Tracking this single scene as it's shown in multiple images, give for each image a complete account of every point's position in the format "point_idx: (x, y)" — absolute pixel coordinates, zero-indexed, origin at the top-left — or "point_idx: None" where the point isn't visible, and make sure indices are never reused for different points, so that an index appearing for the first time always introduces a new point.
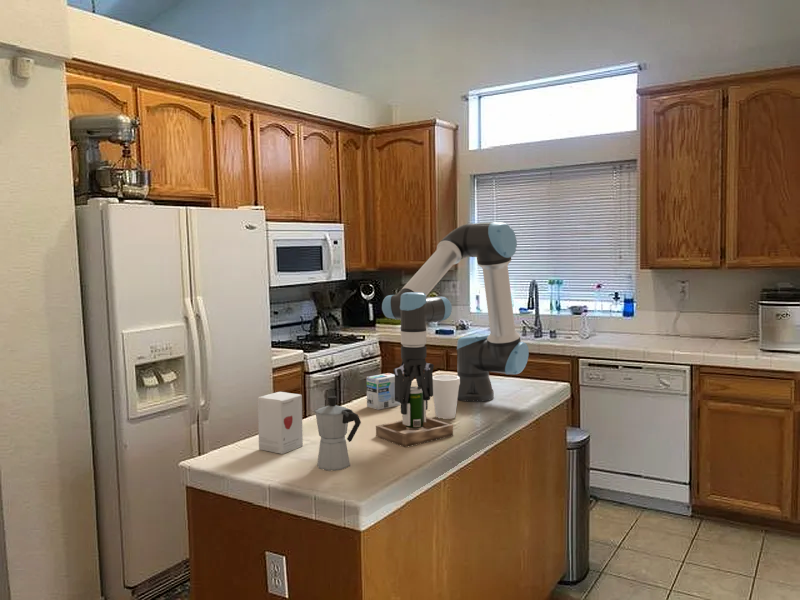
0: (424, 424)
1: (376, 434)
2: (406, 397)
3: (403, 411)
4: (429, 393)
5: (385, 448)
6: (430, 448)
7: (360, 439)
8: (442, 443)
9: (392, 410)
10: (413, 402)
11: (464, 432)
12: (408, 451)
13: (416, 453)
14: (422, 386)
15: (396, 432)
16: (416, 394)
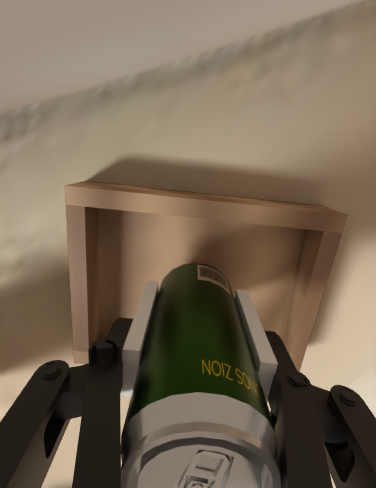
0: (98, 324)
1: None
2: (304, 409)
3: (283, 345)
4: (62, 388)
5: (370, 247)
6: (272, 124)
7: (335, 363)
8: (189, 137)
9: (56, 483)
10: (246, 354)
11: (19, 179)
12: (355, 162)
13: (359, 118)
14: (119, 473)
15: (322, 277)
16: (239, 393)
